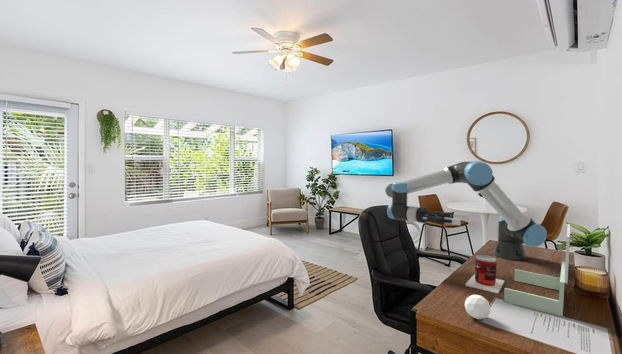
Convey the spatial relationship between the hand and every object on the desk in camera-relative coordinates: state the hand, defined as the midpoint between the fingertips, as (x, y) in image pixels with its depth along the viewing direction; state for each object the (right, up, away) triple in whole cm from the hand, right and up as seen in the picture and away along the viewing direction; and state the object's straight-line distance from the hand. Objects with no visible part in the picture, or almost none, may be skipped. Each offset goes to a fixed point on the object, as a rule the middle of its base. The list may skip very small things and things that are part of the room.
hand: (464, 220), depth 135 cm
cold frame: (+20, -28, -15) cm, 37 cm away
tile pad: (+7, -27, -4) cm, 28 cm away
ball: (-12, -29, -32) cm, 45 cm away
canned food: (+7, -27, -4) cm, 28 cm away
